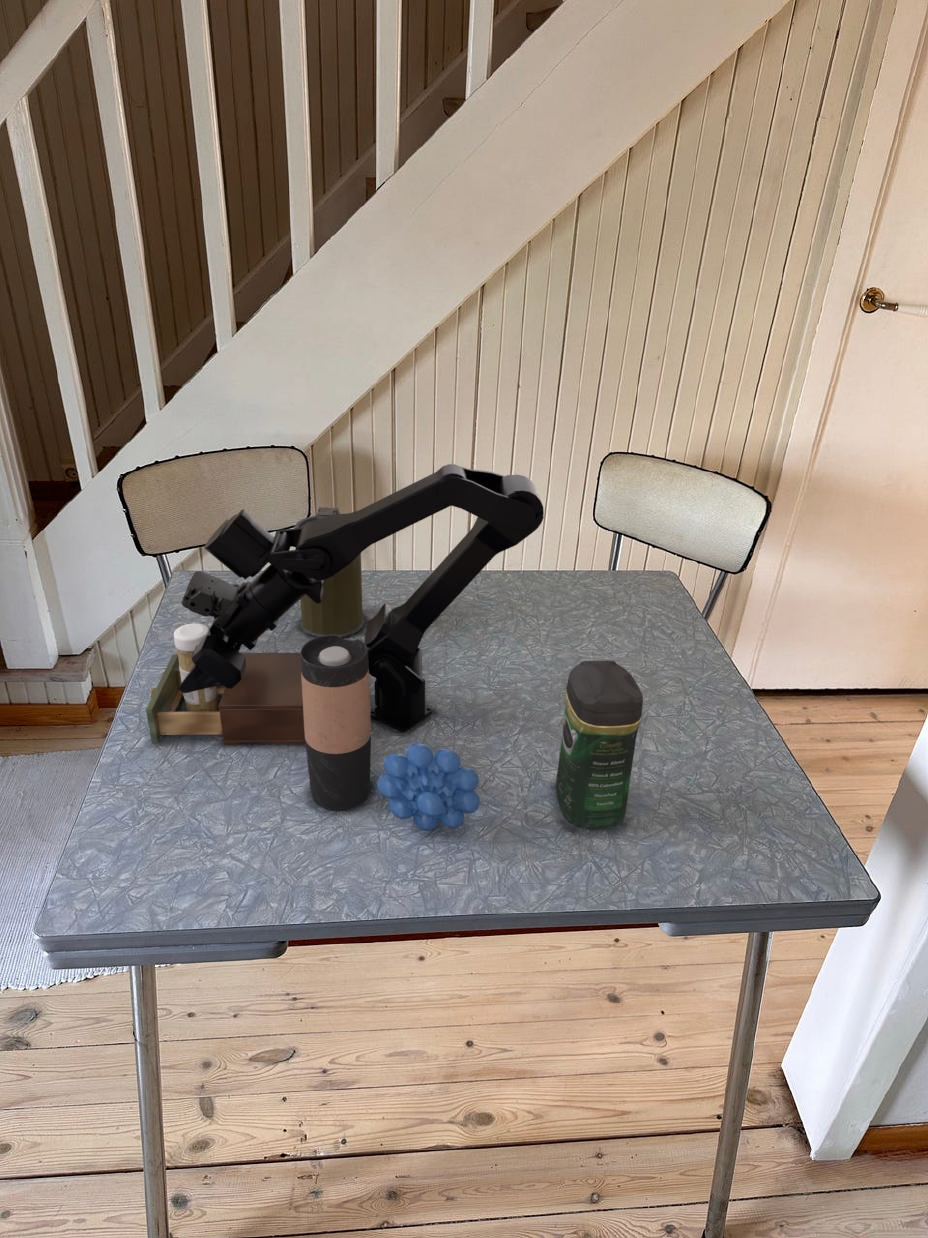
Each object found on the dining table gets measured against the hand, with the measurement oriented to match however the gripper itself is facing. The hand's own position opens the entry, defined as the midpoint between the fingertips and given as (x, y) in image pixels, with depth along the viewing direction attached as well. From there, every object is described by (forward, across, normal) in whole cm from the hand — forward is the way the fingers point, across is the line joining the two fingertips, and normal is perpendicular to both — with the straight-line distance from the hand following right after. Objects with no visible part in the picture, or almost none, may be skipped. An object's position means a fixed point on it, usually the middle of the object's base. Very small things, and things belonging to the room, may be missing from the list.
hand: (189, 671), depth 112 cm
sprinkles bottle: (+4, 0, +6) cm, 7 cm away
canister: (-6, -27, +17) cm, 32 cm away
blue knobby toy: (-17, +24, +27) cm, 40 cm away
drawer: (+4, 0, +6) cm, 7 cm away
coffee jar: (-31, +19, +41) cm, 55 cm away
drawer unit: (-3, 0, +13) cm, 13 cm away
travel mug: (-10, +16, +20) cm, 27 cm away
